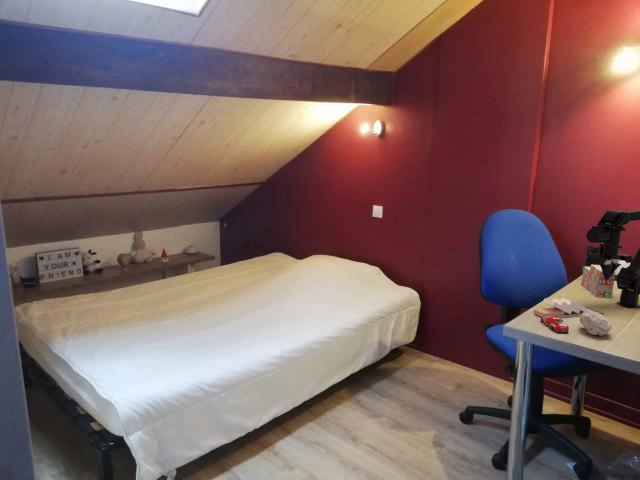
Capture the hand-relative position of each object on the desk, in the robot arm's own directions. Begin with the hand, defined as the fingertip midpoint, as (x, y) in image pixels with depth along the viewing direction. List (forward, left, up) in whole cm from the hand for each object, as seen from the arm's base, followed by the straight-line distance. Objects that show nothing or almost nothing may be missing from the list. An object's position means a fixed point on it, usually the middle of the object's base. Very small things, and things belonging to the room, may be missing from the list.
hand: (606, 279), depth 193 cm
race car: (+37, +13, -12) cm, 41 cm away
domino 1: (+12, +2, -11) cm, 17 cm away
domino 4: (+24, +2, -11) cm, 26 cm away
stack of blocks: (-18, -20, -12) cm, 30 cm away
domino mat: (+17, +2, -12) cm, 21 cm away
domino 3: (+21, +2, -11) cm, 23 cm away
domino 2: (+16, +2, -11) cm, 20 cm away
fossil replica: (+27, +21, -12) cm, 36 cm away
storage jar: (-30, -33, -12) cm, 46 cm away
